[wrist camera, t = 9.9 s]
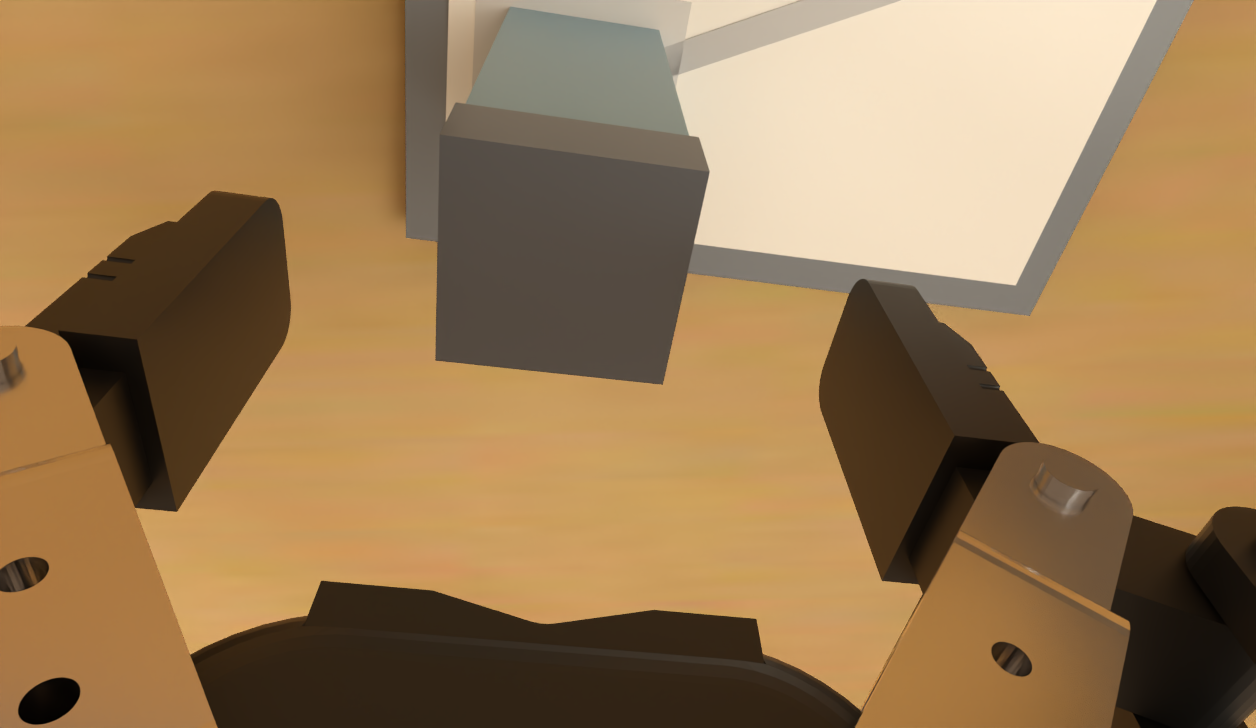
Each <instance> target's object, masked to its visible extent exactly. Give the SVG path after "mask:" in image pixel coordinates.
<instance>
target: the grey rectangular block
mask: <svg viewBox="0 0 1256 728" xmlns="http://www.w3.org/2000/svg"><path fill="white" fill-rule="evenodd" d="M709 173H710V171H709V168H708V164H707V161H706V158H705V155H704V152H703V149H702V145H701V142H700V139H699V137H694V136H689V134H688V130H687V127H686V123H685V120H684V116H683V112H682V109H681V105H680V102H679V98H678V95H677V91H676V88H675V84H674V81H673V77H672V74H671V70H670V67H669V63H668V60H667V56H666V53H665V49H664V46H663V42H662V39H661V35H660V32H659V30H656V29H650V28H644V27H637V26H631V25H625V24H618V23H612V22H606V21H599V20H593V19H587V18H580V17H574V16H567V15H561V14H555V13H548V12H542V11H536V10H529V9H523V8H517V7H510V8H509V10H508V12H507V15H506V17H505V19H504V21H503V23H502V25H501V28H500V30H499V32H498V34H497V36H496V38H495V41H494V43H493V45H492V47H491V49H490V51H489V54H488V56H487V58H486V60H485V62H484V64H483V67H482V69H481V71H480V73H479V75H478V77H477V80H476V82H475V84H474V86H473V88H472V90H471V93H470V95H469V97H468V99H467V101H466V103H465V104H464V103H457V102H456V103H455V105H454V107H453V109H452V111H451V113H450V115H449V117H448V119H447V121H446V123H445V125H444V127H443V129H442V131H441V133H440V141H439V196H438V250H437V304H436V359H435V360H436V361H446V362H455V363H465V364H474V365H483V366H493V367H502V368H512V369H521V370H530V371H540V372H549V373H559V374H568V375H577V376H587V377H596V378H606V379H615V380H624V381H634V382H643V383H653V384H662V385H663V381H664V376H665V372H666V367H667V363H668V358H669V354H670V349H671V345H672V340H673V336H674V331H675V327H676V322H677V318H678V313H679V309H680V304H681V300H682V295H683V291H684V286H685V282H686V277H687V272H688V268H689V263H690V259H691V254H692V250H693V245H694V241H695V236H696V232H697V227H698V223H699V218H700V214H701V209H702V205H703V200H704V196H705V191H706V187H707V182H708V178H709Z"/></svg>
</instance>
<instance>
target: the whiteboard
mask: <svg viewBox="0 0 1256 728" xmlns="http://www.w3.org/2000/svg"><path fill="white" fill-rule="evenodd" d="M1193 1H1194V0H405V107H406V238H412V239H420V240H428V241H436V242H438V196H439V141H440V133H441V131H442V129H443V127H444V125H445V123H446V121H447V119H448V117H449V115H450V113H451V111H452V109H453V107H454V105H455V103H456V102H457V103H464V104H465V103H466V101H467V99H468V97H469V95H470V93H471V90H472V88H473V86H474V84H475V82H476V80H477V77H478V75H479V73H480V71H481V69H482V67H483V64H484V62H485V60H486V58H487V56H488V54H489V51H490V49H491V47H492V45H493V43H494V41H495V38H496V36H497V34H498V32H499V30H500V28H501V25H502V23H503V21H504V19H505V17H506V15H507V12H508V10H509V8H510V7H517V8H523V9H529V10H536V11H542V12H548V13H555V14H561V15H567V16H574V17H580V18H587V19H593V20H599V21H606V22H612V23H618V24H625V25H631V26H637V27H644V28H650V29H656V30H659V32H660V35H661V39H662V42H663V46H664V49H665V53H666V56H667V60H668V63H669V67H670V70H671V74H672V77H673V81H674V84H675V88H676V91H677V95H678V98H679V102H680V105H681V109H682V112H683V116H684V120H685V123H686V127H687V130H688V134H689V136H694V137H699V139H700V142H701V145H702V149H703V152H704V155H705V158H706V161H707V164H708V168H709V171H710V173H709V178H708V182H707V187H706V191H705V196H704V200H703V205H702V209H701V214H700V218H699V223H698V227H697V232H696V236H695V241H694V245H693V250H692V254H691V259H690V263H689V268H688V272H687V273H692V274H699V275H707V276H715V277H723V278H731V279H739V280H747V281H755V282H763V283H771V284H779V285H787V286H795V287H803V288H811V289H819V290H827V291H835V292H843V293H850V292H851V290H852V288H853V286H854V285H855V283H856V282H857V281H858V280H860V279H869V280H876V281H884V282H891V283H899V284H906V285H913V286H914V287H915V288H916V289H917V290H918V292H919V293H920V295H921V296H922V298H923V299H924V301H925V302H926V303H931V304H939V305H947V306H955V307H963V308H971V309H979V310H987V311H995V312H1003V313H1011V314H1019V315H1027V316H1030V314H1031V312H1032V310H1033V308H1034V306H1035V305H1036V303H1037V301H1038V299H1039V297H1040V295H1041V293H1042V291H1043V289H1044V287H1045V285H1046V283H1047V281H1048V280H1049V278H1050V276H1051V274H1052V272H1053V270H1054V268H1055V266H1056V264H1057V262H1058V260H1059V258H1060V256H1061V255H1062V253H1063V251H1064V249H1065V247H1066V245H1067V243H1068V241H1069V239H1070V237H1071V235H1072V233H1073V231H1074V230H1075V228H1076V226H1077V224H1078V222H1079V220H1080V218H1081V216H1082V214H1083V212H1084V210H1085V208H1086V206H1087V205H1088V203H1089V201H1090V199H1091V197H1092V195H1093V193H1094V191H1095V189H1096V187H1097V185H1098V183H1099V181H1100V180H1101V178H1102V176H1103V174H1104V172H1105V170H1106V168H1107V166H1108V164H1109V162H1110V160H1111V158H1112V156H1113V155H1114V153H1115V151H1116V149H1117V147H1118V145H1119V143H1120V141H1121V139H1122V137H1123V135H1124V133H1125V131H1126V130H1127V128H1128V126H1129V124H1130V122H1131V120H1132V118H1133V116H1134V114H1135V112H1136V110H1137V108H1138V106H1139V105H1140V103H1141V101H1142V99H1143V97H1144V95H1145V93H1146V91H1147V89H1148V87H1149V85H1150V83H1151V81H1152V80H1153V78H1154V76H1155V74H1156V72H1157V70H1158V68H1159V66H1160V64H1161V62H1162V60H1163V58H1164V56H1165V55H1166V53H1167V51H1168V49H1169V47H1170V45H1171V43H1172V41H1173V39H1174V37H1175V35H1176V33H1177V31H1178V30H1179V28H1180V26H1181V24H1182V22H1183V20H1184V18H1185V16H1186V14H1187V12H1188V10H1189V8H1190V6H1191V5H1192V3H1193Z"/></svg>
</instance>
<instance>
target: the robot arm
mask: <svg viewBox="0 0 1256 728" xmlns="http://www.w3.org/2000/svg"><path fill="white" fill-rule="evenodd" d="M290 313H291V301H290V290H289V280H288V270H287V260H286V250H285V239H284V229H283V220H282V214H281V210H280V207H279V205H278V203H277V201H276V200H275V199H273V198H266V197H258V196H251V195H243V194H236V193H228V192H221V191H212V192H210V193H209V194H208V195H206V196H205V197H204V198H203V199H202V200H201V201H200V202H199V203H198V204H197V205H195V206H194V207H193V208H192V209H191V210H190V211H189V212H188V213H187V214H186V215H184V216H183V217H182V218H181V219H180V220H179V221H178V222H170V221H167V222H165V223H162V224H160V225H157V226H155V227H153V228H150V229H148V230H145V231H143V232H140V233H138V234H135V235H133V236H131V237H129V238H128V239H127V240H126V241H125V242H124V243H122V244H121V245H120V246H119V247H118V248H117V249H115V250H114V251H113V252H112V253H111V254H109V255H108V256H107V261H104V260H102V261H101V262H100V263H99V264H98V265H97V266H95V267H94V268H93V269H92V270H91V271H89V272H88V277H87V278H83V277H82V278H81V279H80V280H79V281H78V282H77V283H75V284H74V285H73V286H72V287H71V288H69V289H68V290H67V291H66V292H65V293H64V294H62V295H61V296H60V297H59V298H58V299H57V300H55V301H54V302H53V303H52V304H51V305H49V306H48V307H47V308H46V309H45V310H44V311H42V312H41V313H40V314H39V315H38V316H37V317H35V318H34V319H33V320H32V321H31V322H29V323H28V324H27V325H26V326H25V327H23V326H0V728H1248V727H1247V725H1246V724H1245V722H1244V720H1245V719H1246V718H1247V717H1248V716H1249V715H1250V714H1251V713H1252V712H1253V711H1254V710H1255V709H1256V509H1251V508H1246V507H1226V508H1223V509H1220V510H1218V511H1217V512H1216V513H1215V514H1214V515H1213V516H1212V518H1211V519H1210V520H1209V521H1208V523H1207V524H1206V525H1205V526H1204V528H1203V529H1202V530H1201V531H1200V533H1199V534H1198V535H1197V536H1195V535H1192V534H1189V533H1186V532H1183V531H1180V530H1176V529H1173V528H1170V527H1167V526H1164V525H1161V524H1158V523H1155V522H1152V521H1148V520H1145V519H1142V518H1139V517H1136V516H1133V508H1132V504H1131V502H1130V500H1129V498H1128V496H1127V495H1126V493H1125V492H1124V490H1123V489H1122V488H1121V487H1120V486H1119V485H1118V484H1117V482H1116V481H1115V480H1113V479H1112V478H1111V477H1110V476H1109V475H1108V474H1107V473H1105V472H1104V471H1103V470H1101V469H1100V468H1098V467H1097V466H1095V465H1094V464H1092V463H1091V462H1089V461H1087V460H1085V459H1083V458H1082V457H1080V456H1078V455H1076V454H1073V453H1071V452H1069V451H1066V450H1064V449H1061V448H1058V447H1055V446H1051V445H1046V444H1042V443H1039V442H1038V440H1037V439H1036V437H1035V436H1034V435H1033V433H1032V432H1031V430H1030V429H1029V427H1028V426H1027V424H1026V423H1025V422H1024V420H1023V419H1022V417H1021V416H1020V414H1019V413H1018V411H1017V410H1016V409H1015V407H1014V406H1013V404H1012V403H1011V401H1010V400H1009V398H1008V397H1007V396H1006V394H1005V393H1004V391H1000V390H999V387H1000V385H999V384H998V383H997V381H996V380H995V378H994V377H993V375H992V374H991V372H988V371H986V369H987V367H986V365H985V364H984V362H983V361H982V359H981V358H980V357H979V355H978V354H977V352H976V351H975V349H974V348H973V346H972V345H971V344H970V343H969V342H967V341H966V340H965V339H964V338H962V337H961V336H960V335H958V334H957V333H956V332H955V331H953V330H952V329H951V328H949V327H948V326H947V325H946V324H944V323H940V322H938V320H937V319H936V317H935V316H934V314H933V313H932V311H931V310H930V308H929V307H928V305H927V304H926V302H925V301H924V299H923V298H922V296H921V295H920V293H919V292H918V290H917V289H916V288H915V287H914V286H913V285H906V284H899V283H891V282H884V281H876V280H869V279H860V280H858V281H857V282H856V283H855V285H854V286H853V288H852V290H851V292H850V294H849V296H848V299H847V302H846V305H845V308H844V310H843V313H842V316H841V319H840V322H839V324H838V327H837V330H836V333H835V336H834V338H833V341H832V344H831V347H830V350H829V352H828V355H827V358H826V361H825V364H824V367H823V370H822V374H821V379H820V386H819V402H820V408H821V412H822V414H823V417H824V420H825V423H826V426H827V428H828V431H829V434H830V437H831V440H832V442H833V445H834V448H835V451H836V454H837V456H838V459H839V462H840V465H841V468H842V470H843V473H844V476H845V479H846V482H847V484H848V487H849V490H850V493H851V496H852V498H853V501H854V504H855V507H856V510H857V512H858V515H859V518H860V521H861V524H862V526H863V529H864V532H865V535H866V538H867V540H868V543H869V546H870V549H871V552H872V554H873V557H874V560H875V563H876V566H877V568H878V571H879V574H880V577H881V580H882V581H890V582H901V583H911V584H919V585H920V588H921V590H922V593H923V595H922V597H921V598H920V600H919V602H918V604H917V606H916V607H915V609H914V611H913V613H912V615H911V617H910V618H909V620H908V622H907V624H906V626H905V628H904V630H903V631H902V633H901V635H900V637H899V639H898V641H897V643H896V644H895V646H894V648H893V650H892V652H891V654H890V656H889V657H888V659H887V661H886V663H885V665H884V667H883V669H882V670H881V672H880V674H879V676H878V678H877V680H876V682H875V683H874V685H873V687H872V689H871V691H870V693H869V695H868V696H867V698H866V700H865V702H864V704H863V706H862V708H861V709H860V710H859V709H858V708H857V707H856V706H854V705H853V704H852V703H851V702H850V701H848V700H847V699H846V698H845V697H843V696H842V695H840V694H839V693H838V692H836V691H835V690H833V689H832V688H830V687H829V686H827V685H826V684H824V683H823V682H821V681H820V680H818V679H816V678H814V677H813V676H811V675H809V674H807V673H805V672H804V671H802V670H800V669H798V668H796V667H794V666H791V665H789V664H787V663H784V662H782V661H780V660H778V659H775V658H773V657H770V656H767V655H764V654H763V653H762V648H761V642H760V637H759V631H758V626H757V620H756V619H750V618H738V617H727V616H716V615H704V614H693V613H681V612H670V611H659V610H651V611H643V612H636V613H629V614H622V615H614V616H607V617H600V618H592V619H585V620H578V621H571V622H563V623H556V624H539V623H534V622H530V621H527V620H524V619H521V618H518V617H515V616H511V615H508V614H505V613H502V612H499V611H496V610H492V609H489V608H486V607H483V606H480V605H477V604H473V603H470V602H467V601H464V600H461V599H457V598H454V597H451V596H448V595H445V594H442V593H438V592H435V591H431V590H419V589H408V588H397V587H385V586H374V585H362V584H351V583H340V582H328V581H321V583H320V586H319V588H318V591H317V593H316V596H315V599H314V601H313V604H312V606H311V609H310V612H309V614H308V616H303V617H296V618H290V619H286V620H282V621H277V622H273V623H269V624H264V625H261V626H258V627H255V628H252V629H249V630H246V631H243V632H240V633H237V634H234V635H231V636H229V637H227V638H224V639H222V640H220V641H218V642H215V643H213V644H211V645H208V646H206V647H204V648H202V649H200V650H198V651H196V652H194V653H193V654H191V655H190V653H189V651H188V648H187V645H186V643H185V640H184V637H183V635H182V632H181V629H180V627H179V624H178V621H177V619H176V616H175V613H174V611H173V608H172V605H171V603H170V600H169V597H168V595H167V592H166V589H165V587H164V584H163V581H162V579H161V576H160V573H159V571H158V568H157V565H156V563H155V560H154V557H153V555H152V552H151V549H150V547H149V544H148V542H147V539H146V536H145V534H144V531H143V528H142V526H141V523H140V520H139V518H138V515H137V512H136V510H135V508H143V509H154V510H164V511H175V512H177V511H178V509H179V508H180V506H181V505H182V503H183V501H184V500H185V498H186V497H187V495H188V494H189V492H190V490H191V489H192V487H193V486H194V484H195V483H196V481H197V479H198V478H199V476H200V475H201V473H202V472H203V470H204V468H205V467H206V465H207V464H208V462H209V461H210V459H211V457H212V456H213V454H214V453H215V451H216V450H217V448H218V446H219V445H220V443H221V442H222V440H223V439H224V437H225V435H226V434H227V432H228V431H229V429H230V428H231V426H232V424H233V423H234V421H235V420H236V418H237V417H238V415H239V413H240V412H241V410H242V409H243V407H244V406H245V404H246V402H247V401H248V399H249V398H250V396H251V395H252V393H253V391H254V390H255V388H256V387H257V385H258V384H259V382H260V380H261V379H262V377H263V376H264V374H265V373H266V371H267V369H268V368H269V366H270V365H271V363H272V362H273V360H274V358H275V357H276V355H277V354H278V352H279V351H280V349H281V347H282V346H283V344H284V341H285V339H286V336H287V332H288V328H289V323H290Z"/></svg>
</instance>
